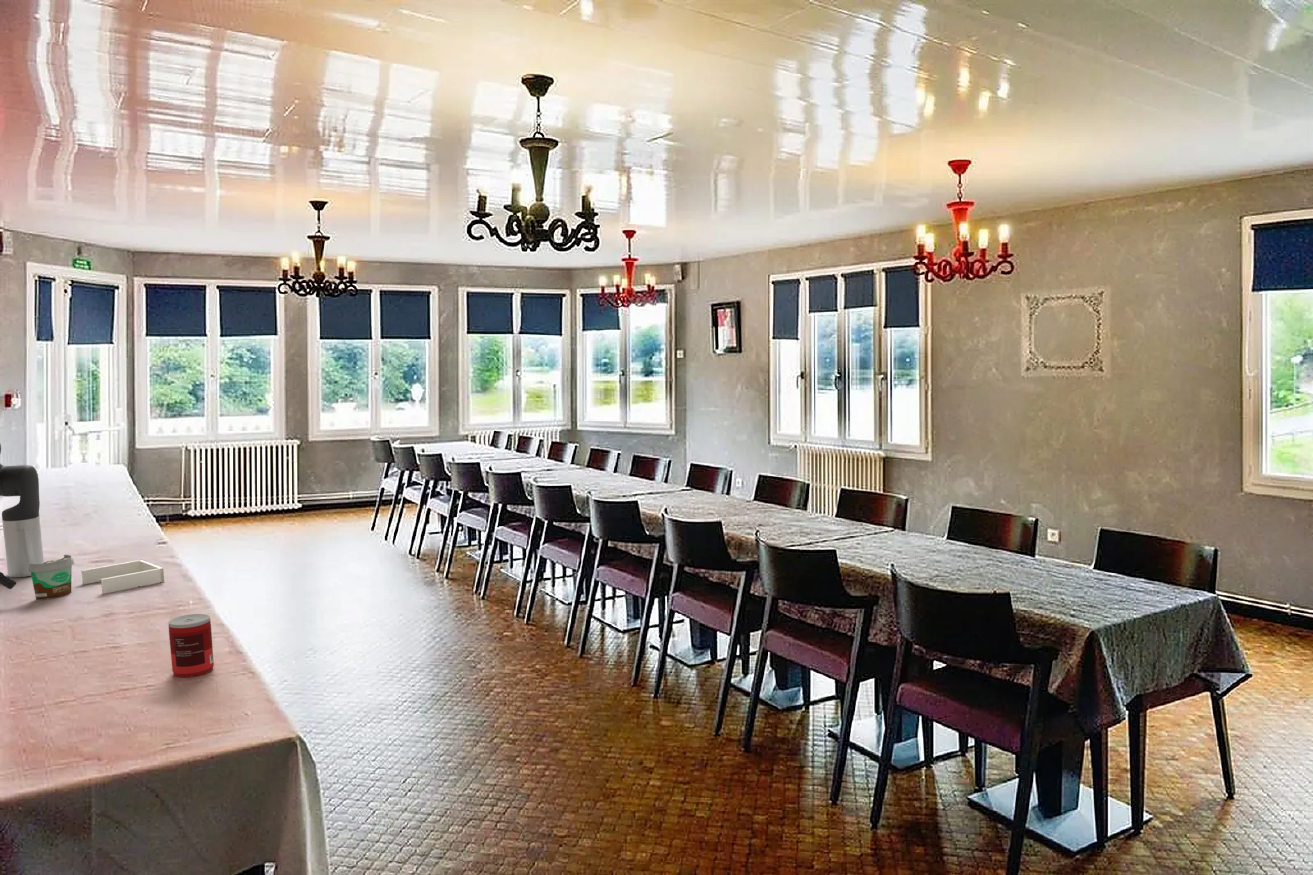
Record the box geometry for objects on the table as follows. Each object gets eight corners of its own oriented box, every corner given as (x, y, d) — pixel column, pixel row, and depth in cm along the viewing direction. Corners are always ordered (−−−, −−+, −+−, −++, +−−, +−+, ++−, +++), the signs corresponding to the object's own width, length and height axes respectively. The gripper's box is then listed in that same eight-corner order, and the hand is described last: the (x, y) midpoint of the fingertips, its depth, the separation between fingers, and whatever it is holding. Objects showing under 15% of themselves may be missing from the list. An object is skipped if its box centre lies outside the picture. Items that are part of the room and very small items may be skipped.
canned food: (201, 662, 193) (197, 611, 191) (222, 669, 188) (218, 617, 187) (164, 673, 186) (160, 621, 185) (185, 680, 182) (181, 627, 181)
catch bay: (82, 583, 263) (81, 570, 263) (142, 572, 275) (141, 559, 274) (103, 593, 251) (101, 579, 251) (164, 581, 263) (163, 568, 262)
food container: (50, 601, 245) (47, 565, 244) (31, 601, 246) (27, 564, 245) (87, 589, 257) (84, 554, 256) (69, 588, 258) (65, 554, 257)
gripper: (-32, 540, 230) (30, 577, 240) (-43, 534, 239) (17, 570, 249) (-55, 565, 227) (8, 602, 237) (-67, 557, 236) (-5, 593, 246)
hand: (13, 585), depth 243 cm, fingers closed
